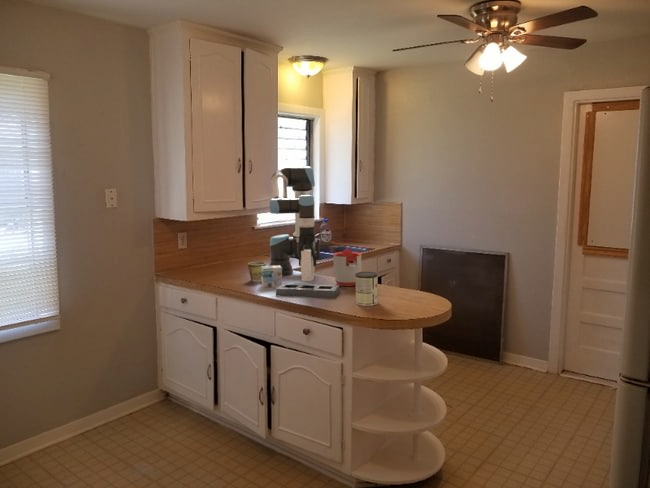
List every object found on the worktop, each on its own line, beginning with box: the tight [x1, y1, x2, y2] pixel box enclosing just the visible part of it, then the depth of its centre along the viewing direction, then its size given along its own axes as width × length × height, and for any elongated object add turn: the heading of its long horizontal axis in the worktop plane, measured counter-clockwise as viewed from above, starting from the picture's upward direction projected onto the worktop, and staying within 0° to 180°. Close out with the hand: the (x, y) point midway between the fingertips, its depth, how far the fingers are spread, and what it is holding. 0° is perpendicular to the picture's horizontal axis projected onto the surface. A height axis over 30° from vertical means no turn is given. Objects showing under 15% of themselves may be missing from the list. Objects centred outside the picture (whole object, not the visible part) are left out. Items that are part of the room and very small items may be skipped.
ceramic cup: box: [247, 261, 267, 283], centre depth 313 cm, size 13×10×10 cm
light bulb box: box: [260, 265, 283, 289], centre depth 296 cm, size 11×7×11 cm, turn 105°
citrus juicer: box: [332, 248, 362, 287], centre depth 296 cm, size 16×17×20 cm
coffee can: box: [355, 271, 379, 307], centre depth 256 cm, size 10×10×14 cm
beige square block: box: [300, 250, 315, 282], centre depth 276 cm, size 5×5×15 cm
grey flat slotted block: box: [275, 282, 341, 299], centre depth 278 cm, size 13×30×4 cm, turn 77°
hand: (307, 272), depth 276 cm, fingers closed on beige square block, 5 cm apart
